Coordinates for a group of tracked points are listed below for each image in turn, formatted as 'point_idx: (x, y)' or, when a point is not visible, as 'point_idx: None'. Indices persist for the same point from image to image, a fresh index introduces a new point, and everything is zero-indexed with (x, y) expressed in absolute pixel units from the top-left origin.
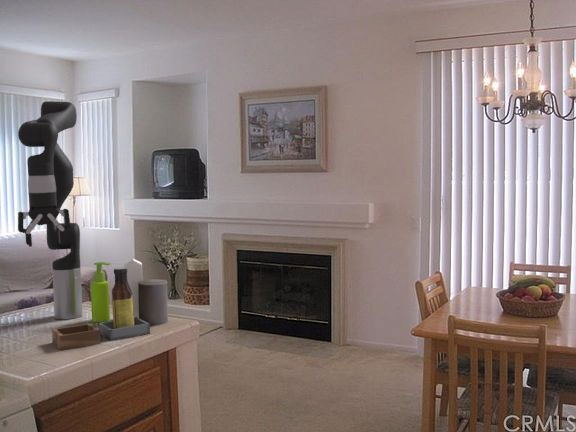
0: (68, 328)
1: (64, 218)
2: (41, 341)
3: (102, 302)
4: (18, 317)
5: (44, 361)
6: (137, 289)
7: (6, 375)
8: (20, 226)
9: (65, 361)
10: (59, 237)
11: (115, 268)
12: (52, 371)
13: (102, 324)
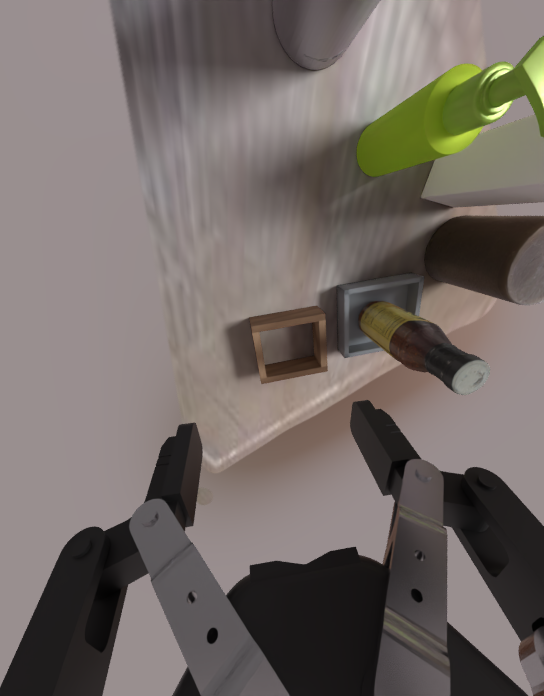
0: (281, 326)
1: (522, 592)
2: (229, 298)
3: (405, 167)
4: None
5: (233, 412)
6: (514, 199)
7: None
8: (91, 631)
9: (260, 421)
10: (366, 446)
11: (462, 370)
12: (242, 450)
13: (347, 308)
